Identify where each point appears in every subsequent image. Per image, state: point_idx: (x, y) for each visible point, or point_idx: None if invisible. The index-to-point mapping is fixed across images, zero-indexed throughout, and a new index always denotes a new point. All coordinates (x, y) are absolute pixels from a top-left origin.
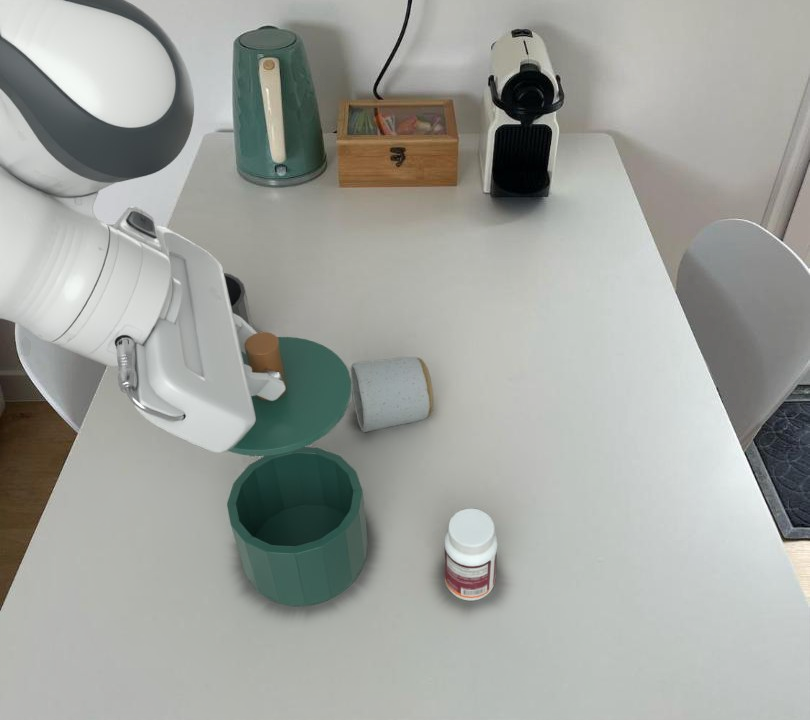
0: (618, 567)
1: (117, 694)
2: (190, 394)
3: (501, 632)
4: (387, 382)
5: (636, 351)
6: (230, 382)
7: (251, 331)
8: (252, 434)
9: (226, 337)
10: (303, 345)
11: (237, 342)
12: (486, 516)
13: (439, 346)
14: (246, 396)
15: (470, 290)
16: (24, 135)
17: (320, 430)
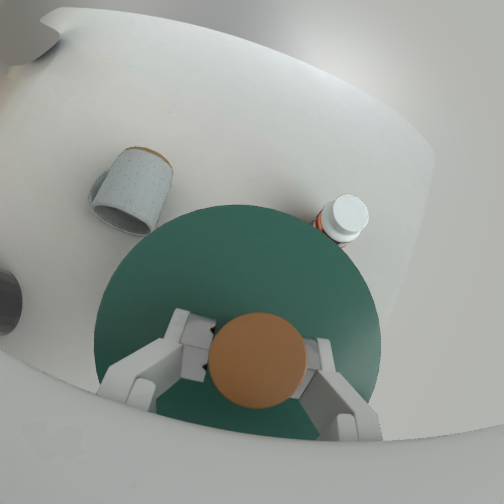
0: (351, 154)
1: None
2: None
3: (365, 242)
4: (139, 185)
5: (204, 49)
6: (483, 476)
7: (161, 356)
8: None
9: (316, 489)
10: (160, 246)
11: (309, 449)
12: (346, 196)
13: (103, 137)
14: (489, 441)
15: (76, 97)
16: None
17: (373, 308)
